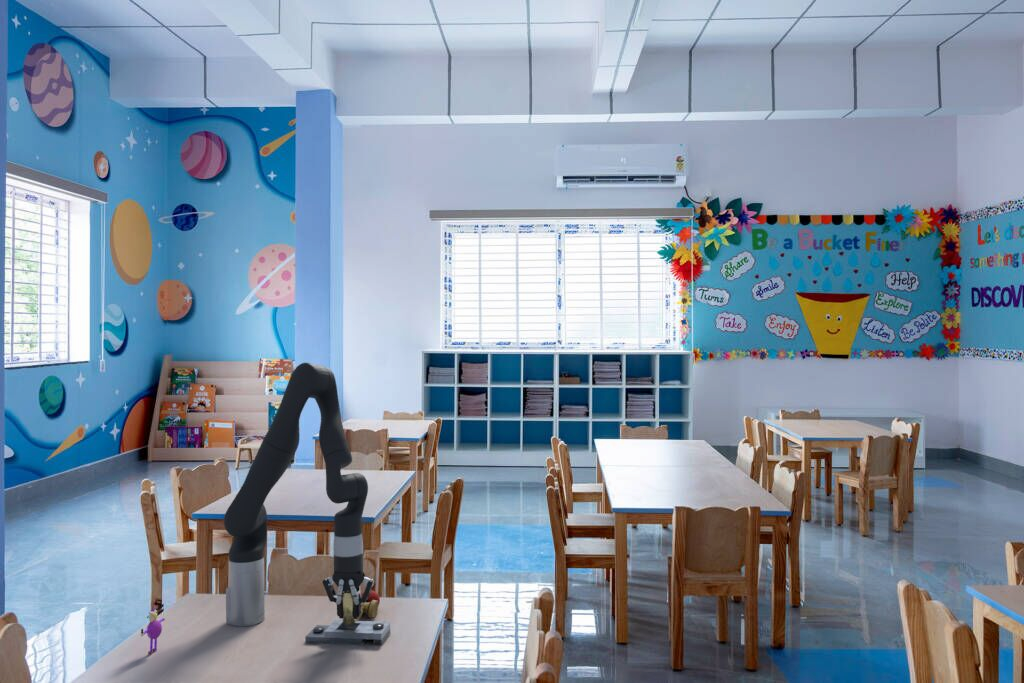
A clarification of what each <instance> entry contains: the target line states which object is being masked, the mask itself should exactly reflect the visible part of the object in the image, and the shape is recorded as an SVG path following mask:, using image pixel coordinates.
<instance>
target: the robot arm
mask: <svg viewBox="0 0 1024 683" xmlns="http://www.w3.org/2000/svg"><path fill="white" fill-rule="evenodd" d="M309 398H310V399H314V400H315V402H316V403H317V406H318V407H317V408H319V412H320V424H319V425H320V426H319V432H318V439H319V441H318V442H319V448H320V450H321V453H322V457H323V460H324V461H323V462H324V464H325V491H326V495H327V497H328V499H329V500H330V501H331V502H332V503H334V504H338V505H339V504H345V503H347V505H346V506H345V508H343V509H342V510H339V511H338V512H336V513H335V514H334V518H333V543H332V544H333V546H332V547H333V553H332V554H333V574H332V576H330V577H329V576H327V577H326V578H324V580H322V585H323V587H324V590H325V593H326V595H327V597H328V600H329V602H332V603H335V604H336V615H337V617H338V618H339V619H340V620H343V616H342V594H343V591H344V592H345V591H350V592H351V593H352V596H353V598H354V603H355V604H354V619H357V618H358V617H359V616H360V615H361V603H365V602H366V600H367V599H368V598H369V595H370V592H371V590H373V587H374V586H375V585H374V584H375V582H376V579H375V578H374V577H373V578H369V577H367V576H366V574H365V571H364V540H363V533H362V532H363V531H362V529H363V526H362V524H363V523H362V521H363V520H362V519H363V514H364V509H365V505H366V501H367V498H368V497H367V496H368V492H369V485H368V480H367V479H366V477H365V475H364V474H362V473H360V472H353V473H348V474H342V473H341V472H342V471H341V470H342V469H345V468H347V467H348V466H350V464H352V462H353V456H352V453H351V448H350V446H349V443H348V440H347V437H346V434H345V430H344V426H343V422H342V414H341V408H340V402H339V395H338V387H337V381H336V377H335V373H334V372H333V371H332V370H331V368H329V367H326V366H323V365H320V364H315V363H313V362H312V363H311V362H302V363H300V364H298V365H297V366H296V367H295V369H294V370H293V371H292V373H291V375H290V377H289V380H288V382H287V385H286V388H285V390H284V394H283V396H282V399H281V402H280V404H279V407H278V409H277V411H276V413H275V415H274V417H273V419H272V422H271V423H270V426H269V428H268V430H267V432H266V434H265V436H264V438H263V440H262V441H261V444H260V446H259V447H258V450H257V453H256V455H255V457H254V459H253V461H252V463H251V466H250V468H249V471H248V472H247V475H246V477H245V480H244V481H243V483H242V485H241V487H240V489H239V490H238V492H237V494H236V495H235V496H234V498H233V500H232V502H231V503H230V504H229V506H228V508H227V510H226V512H225V514H224V517H223V518H224V519H223V525H224V528H225V532H227V534H229V535H230V536H231V537H233V541H232V543H231V546H230V548H229V550H228V587H226V588H225V624H228V625H231V626H234V627H248V626H254V625H257V624H259V623H261V622H263V621H265V619H266V618H265V615H266V614H265V612H266V610H265V608H266V607H265V549H266V545H267V536H268V533H267V532H268V515H267V514H268V513H267V509H266V507H265V505H264V503H265V501H266V499H267V497H268V495H269V494H270V492H271V490H272V489H273V488H274V487H275V485H276V484H277V483H278V482H279V480H280V479H281V478H282V477H283V475H284V474H285V473H286V471H287V469H288V468H289V466H290V464H291V462H292V460H293V458H294V457H295V454H296V452H297V450H298V448H299V444H300V419H301V415H302V412H303V410H304V409H305V408H304V407H305V405H306V404H307V402H308V400H309ZM363 582H364V584H363ZM334 583H335V585H336V586H337V592H336V590H335V588H334ZM362 584H363V585H364V587H365V589H364V591H363V592H364V594H363V596H362V597H361V594H362V593H361V585H362Z"/></svg>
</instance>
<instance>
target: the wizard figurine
mask: <svg viewBox="0 0 1024 683" xmlns="http://www.w3.org/2000/svg"><path fill="white" fill-rule="evenodd" d="M164 605H165V604H164V603H162V604H161V605H159V606H158V607H157V608H155V607H154V605H152V606H151V609H150V611H148V616H146V618H147V619H148V621H149V622H148V624H147V627H146V630H145V631H144V627H141V630H140V631H141V632H140V637H143V636H144V635H147V637H148V638H149V640H150V642H149V651H148V652H147V654H148V655H152V654H153V652H157V651H158V649H157V648H158V647H157V646H158V641H157V640H158V638H159V637H160V636H161V634H162V630H163V626H162V622H164V621H165V620H166V617H165V616H164V617H162V618H161V619H160V620H158V616H159V615H160V614H162V613H163V612H164V609H165V608H163V607H164ZM153 640H154V641H153ZM153 644H154V645H153ZM153 646H154V647H153Z"/></svg>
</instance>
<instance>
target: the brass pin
mask: <svg viewBox="0 0 1024 683" xmlns="http://www.w3.org/2000/svg"><path fill="white" fill-rule="evenodd" d="M354 604H355V603H354V598H353V596H352V593H351V592H350V591H345V592H344V591H343V594H342V616H343V618H342V620H343V624H353V623H355V622H356V619H354Z"/></svg>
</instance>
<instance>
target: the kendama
mask: <svg viewBox="0 0 1024 683" xmlns="http://www.w3.org/2000/svg"><path fill="white" fill-rule="evenodd" d="M363 594H364V591H362V593H361V597H362V596H363ZM380 603H381V602H380V596H379V593H378V592H376V591H374V590H373V589H372V590H371V592H370V595H369V598H368V599H367V600H366V602H365V603H361V615H360V616H359V617H358V618H357V619H356V621H360V619H361V617H362V615H363V613H365V614H366V615H367V616H368V618H369V619H374V618H375V617H376V616H377V613H378V610H379V605H380ZM375 615H376V616H375ZM374 616H375V617H374ZM373 617H374V618H373Z"/></svg>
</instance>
